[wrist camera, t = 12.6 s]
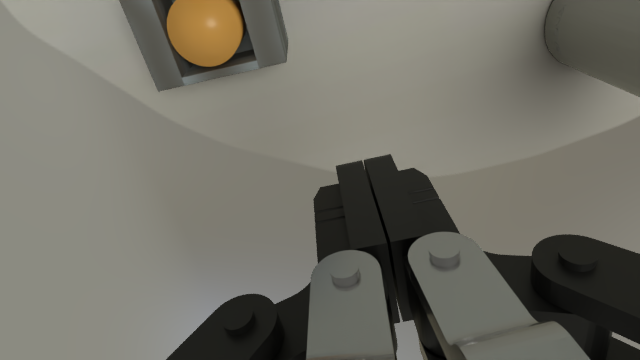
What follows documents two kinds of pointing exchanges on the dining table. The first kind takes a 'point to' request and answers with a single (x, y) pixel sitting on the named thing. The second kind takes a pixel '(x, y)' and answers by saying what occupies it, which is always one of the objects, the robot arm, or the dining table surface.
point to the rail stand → (174, 70)
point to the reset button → (206, 30)
